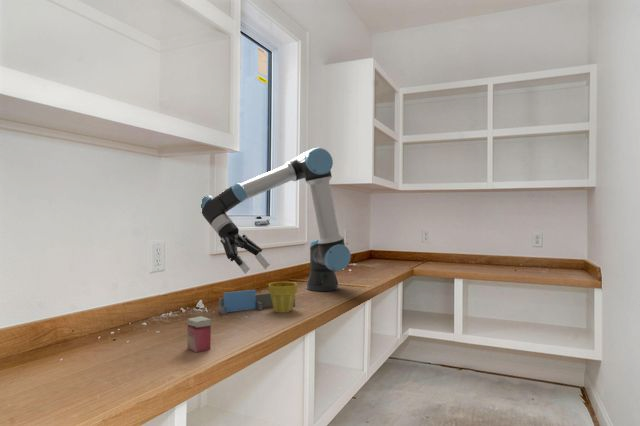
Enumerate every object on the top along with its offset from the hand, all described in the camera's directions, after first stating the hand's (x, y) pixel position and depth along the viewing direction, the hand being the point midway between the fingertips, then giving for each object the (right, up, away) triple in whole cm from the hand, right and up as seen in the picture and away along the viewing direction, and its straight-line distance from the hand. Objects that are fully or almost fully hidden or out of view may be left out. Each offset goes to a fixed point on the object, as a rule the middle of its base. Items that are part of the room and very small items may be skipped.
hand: (258, 268), depth 156 cm
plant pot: (+10, -15, -4) cm, 18 cm away
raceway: (0, -15, -2) cm, 15 cm away
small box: (-8, -15, -48) cm, 51 cm away
